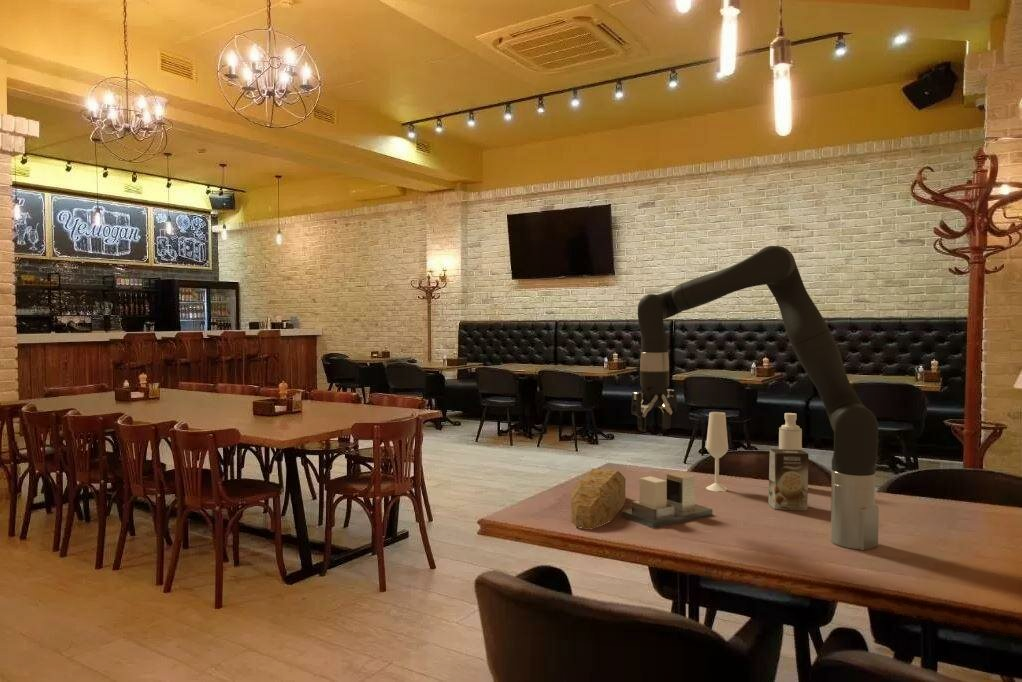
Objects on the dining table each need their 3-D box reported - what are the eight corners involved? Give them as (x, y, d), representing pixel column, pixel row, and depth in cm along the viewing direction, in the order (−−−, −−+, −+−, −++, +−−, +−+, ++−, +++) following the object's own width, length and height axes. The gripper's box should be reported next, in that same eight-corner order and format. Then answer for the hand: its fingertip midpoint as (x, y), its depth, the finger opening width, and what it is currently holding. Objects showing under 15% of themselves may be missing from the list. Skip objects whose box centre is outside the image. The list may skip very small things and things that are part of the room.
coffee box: (774, 509, 189) (774, 452, 189) (768, 503, 196) (768, 448, 195) (808, 510, 189) (808, 453, 188) (800, 504, 195) (801, 449, 194)
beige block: (655, 516, 178) (655, 482, 178) (639, 511, 183) (639, 478, 183) (667, 514, 180) (668, 480, 180) (652, 508, 185) (652, 476, 185)
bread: (595, 493, 209) (595, 461, 209) (630, 496, 205) (630, 464, 205) (561, 527, 175) (561, 489, 175) (603, 531, 171) (603, 492, 171)
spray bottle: (806, 488, 213) (806, 409, 212) (787, 490, 211) (788, 410, 210) (791, 483, 219) (792, 407, 218) (774, 485, 217) (774, 407, 216)
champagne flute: (701, 487, 215) (701, 412, 214) (719, 485, 217) (720, 411, 216) (713, 492, 209) (714, 414, 208) (732, 490, 211) (733, 413, 210)
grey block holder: (712, 514, 185) (712, 476, 185) (652, 527, 173) (652, 487, 173) (680, 504, 195) (680, 468, 195) (621, 516, 184) (621, 478, 183)
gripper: (644, 371, 174) (644, 434, 174) (684, 368, 181) (684, 429, 181) (624, 369, 180) (624, 430, 180) (664, 367, 187) (664, 425, 188)
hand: (654, 429), depth 181 cm, fingers open, 8 cm apart
